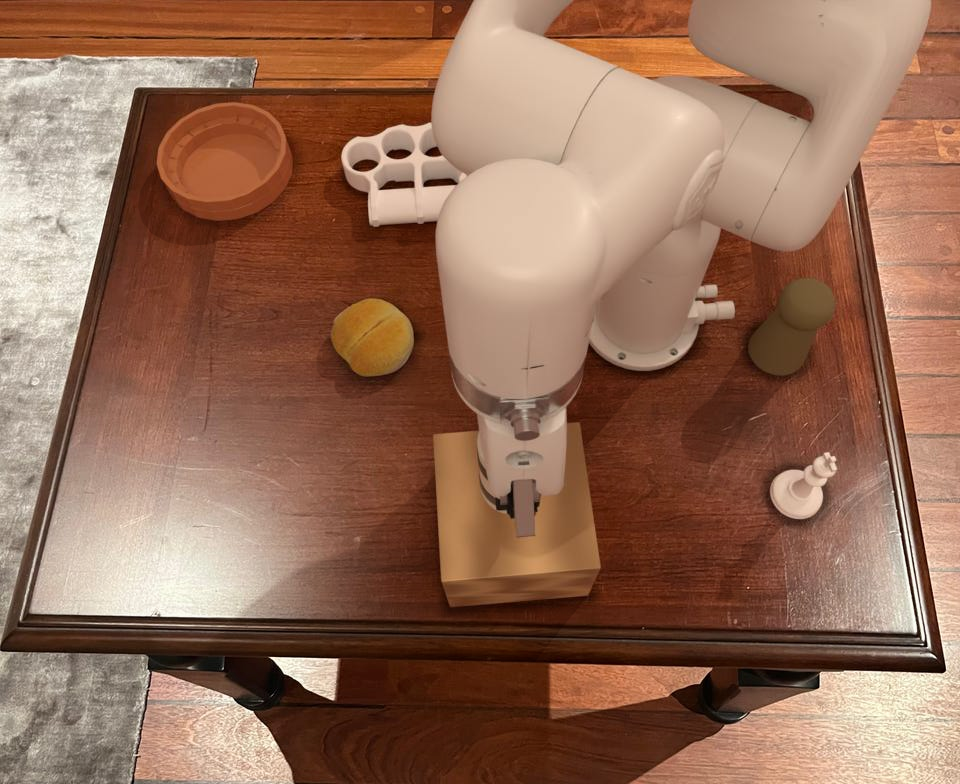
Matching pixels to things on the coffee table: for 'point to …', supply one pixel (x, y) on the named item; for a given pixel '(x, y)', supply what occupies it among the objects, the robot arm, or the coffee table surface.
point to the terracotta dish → (225, 161)
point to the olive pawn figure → (792, 326)
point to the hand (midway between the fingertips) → (513, 467)
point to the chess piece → (802, 488)
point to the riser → (512, 532)
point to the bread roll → (373, 337)
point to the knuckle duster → (400, 175)
